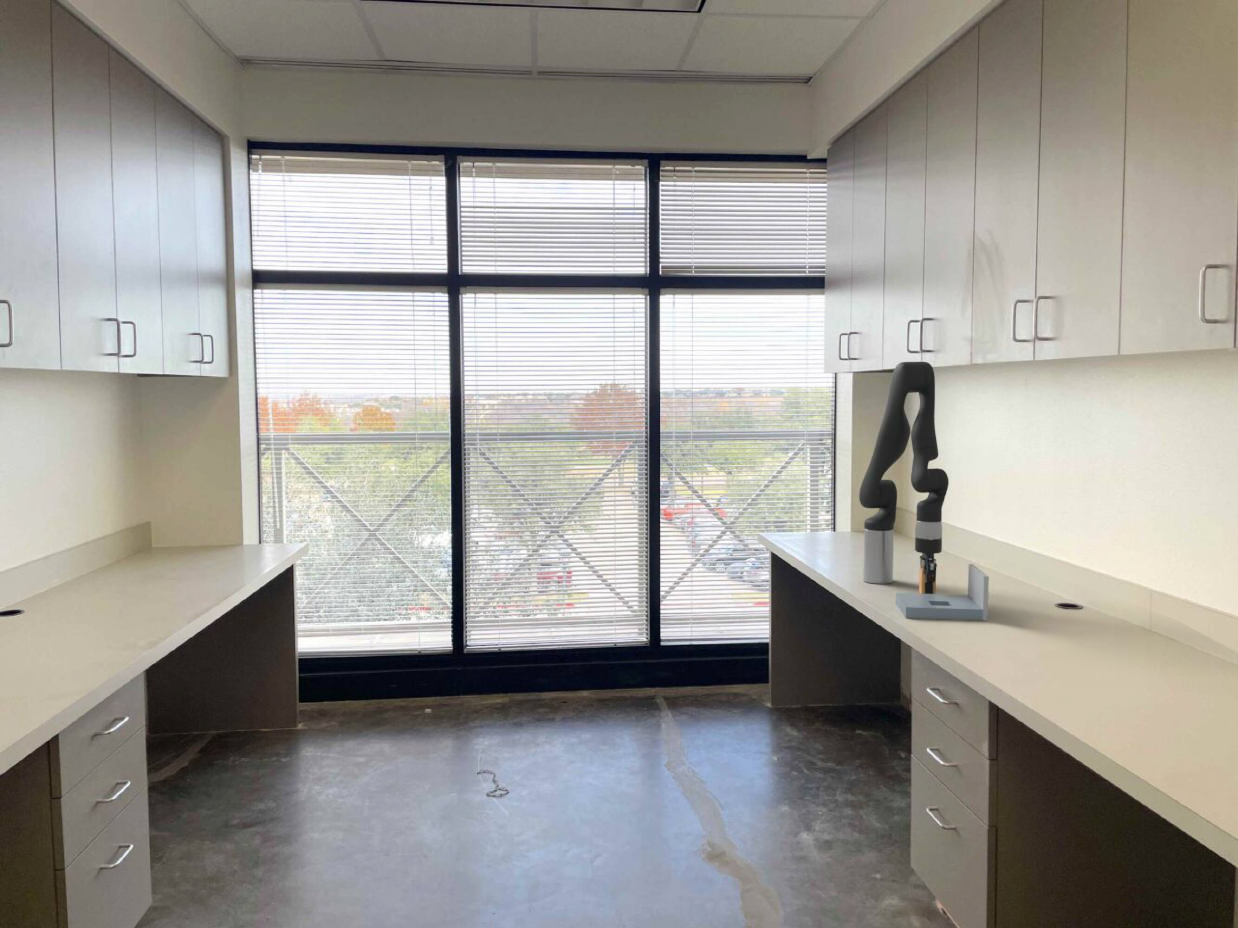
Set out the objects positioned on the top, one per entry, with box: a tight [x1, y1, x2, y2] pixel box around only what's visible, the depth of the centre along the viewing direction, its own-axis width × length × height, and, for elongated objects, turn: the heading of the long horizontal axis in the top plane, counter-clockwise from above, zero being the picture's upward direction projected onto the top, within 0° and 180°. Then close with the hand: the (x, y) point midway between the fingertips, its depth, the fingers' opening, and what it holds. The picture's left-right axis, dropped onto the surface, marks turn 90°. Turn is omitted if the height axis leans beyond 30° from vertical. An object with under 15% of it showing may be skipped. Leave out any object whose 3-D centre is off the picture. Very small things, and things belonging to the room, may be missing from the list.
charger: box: [918, 567, 937, 594], centre depth 272 cm, size 4×4×9 cm
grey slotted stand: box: [895, 563, 990, 622], centre depth 256 cm, size 18×21×12 cm
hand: (927, 592), depth 272 cm, fingers closed on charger, 4 cm apart
